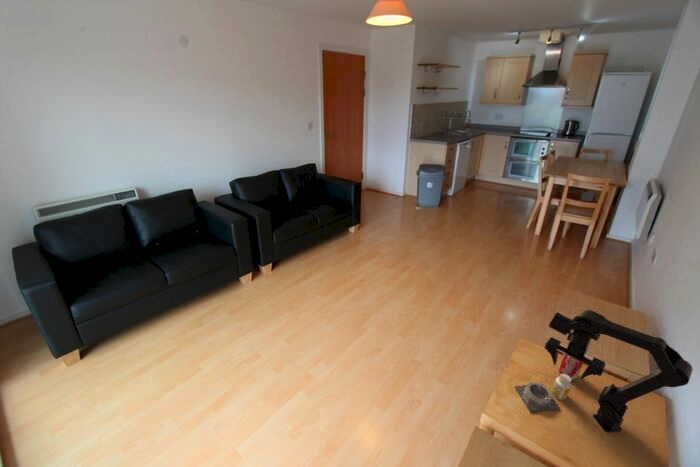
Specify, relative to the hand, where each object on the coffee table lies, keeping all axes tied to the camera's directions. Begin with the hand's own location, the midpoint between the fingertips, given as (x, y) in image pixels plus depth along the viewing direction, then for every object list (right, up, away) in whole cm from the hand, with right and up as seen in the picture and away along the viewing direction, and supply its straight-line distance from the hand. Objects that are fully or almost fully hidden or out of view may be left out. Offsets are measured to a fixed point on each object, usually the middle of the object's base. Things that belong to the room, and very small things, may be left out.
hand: (567, 371), depth 128 cm
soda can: (+9, -7, +14) cm, 18 cm away
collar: (-10, -12, +3) cm, 16 cm away
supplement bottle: (-1, -12, +5) cm, 13 cm away
